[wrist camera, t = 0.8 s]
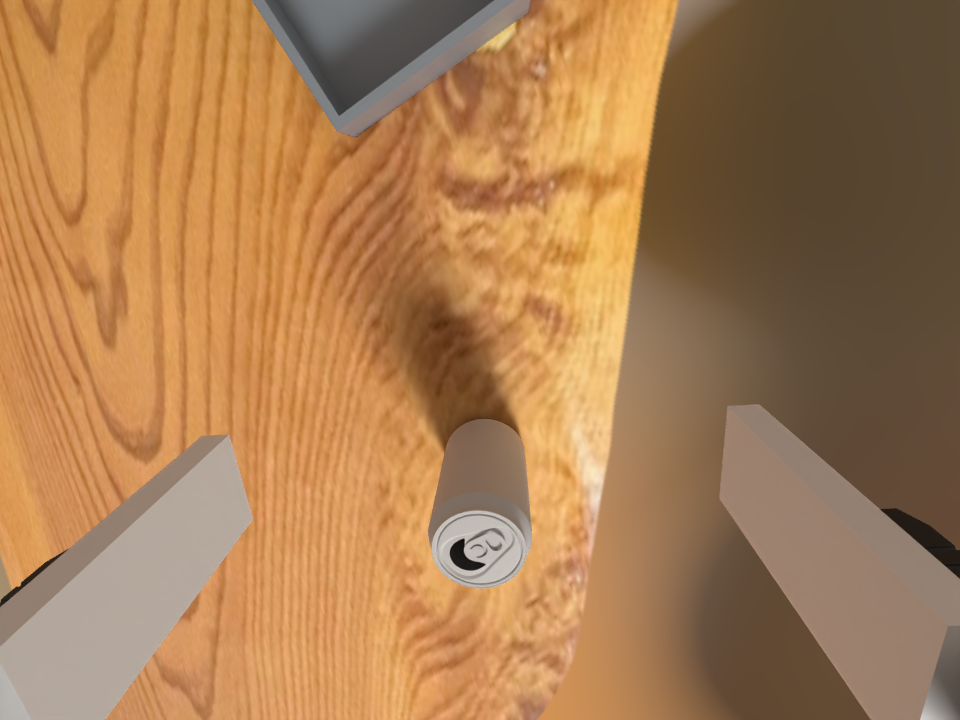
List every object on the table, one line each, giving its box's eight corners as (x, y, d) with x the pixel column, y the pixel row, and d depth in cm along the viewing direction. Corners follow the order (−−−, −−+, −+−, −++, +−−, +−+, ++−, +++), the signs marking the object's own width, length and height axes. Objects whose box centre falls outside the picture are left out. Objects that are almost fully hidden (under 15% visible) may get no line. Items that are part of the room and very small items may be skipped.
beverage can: (431, 439, 41) (402, 538, 29) (496, 399, 39) (493, 487, 28) (475, 496, 42) (465, 610, 31) (540, 459, 41) (554, 565, 29)
